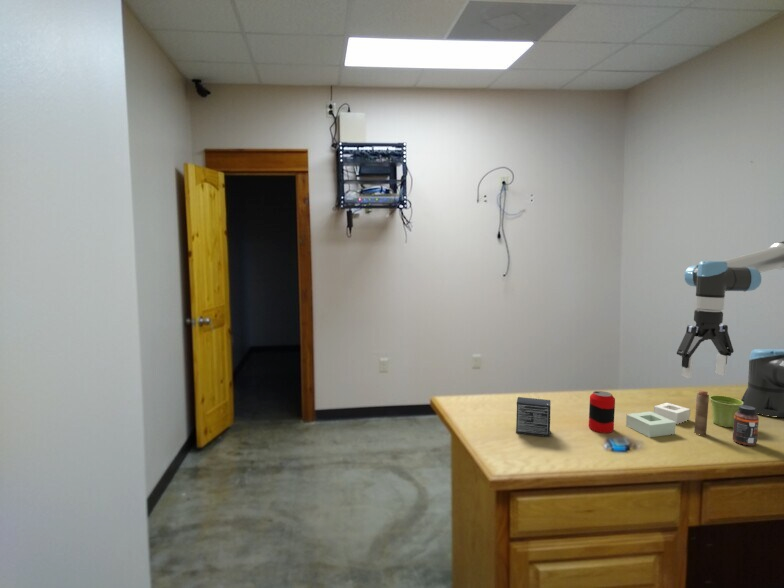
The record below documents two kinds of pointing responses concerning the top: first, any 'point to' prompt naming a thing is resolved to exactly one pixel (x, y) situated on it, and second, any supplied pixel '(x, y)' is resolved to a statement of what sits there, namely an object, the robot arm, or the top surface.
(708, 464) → the top surface
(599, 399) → the soda can
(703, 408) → the brown cylinder
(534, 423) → the small box
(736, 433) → the supplement bottle
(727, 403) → the plant pot
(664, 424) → the pale open box
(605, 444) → the top surface
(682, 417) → the white hollow block
